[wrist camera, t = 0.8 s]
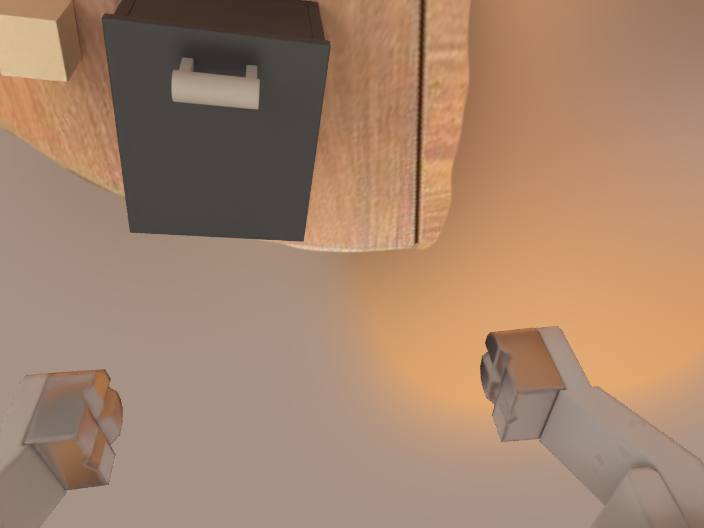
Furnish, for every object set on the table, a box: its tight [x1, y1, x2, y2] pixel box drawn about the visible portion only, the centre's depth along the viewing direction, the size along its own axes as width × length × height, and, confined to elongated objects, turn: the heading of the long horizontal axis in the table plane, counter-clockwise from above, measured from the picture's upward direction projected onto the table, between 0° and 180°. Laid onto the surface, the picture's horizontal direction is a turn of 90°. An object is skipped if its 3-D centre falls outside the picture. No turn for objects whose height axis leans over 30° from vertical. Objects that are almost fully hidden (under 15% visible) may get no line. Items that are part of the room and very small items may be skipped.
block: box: [0, 0, 82, 82], centre depth 41 cm, size 4×4×4 cm
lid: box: [102, 13, 330, 241], centre depth 39 cm, size 17×14×5 cm
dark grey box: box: [114, 0, 325, 40], centre depth 44 cm, size 16×14×10 cm
